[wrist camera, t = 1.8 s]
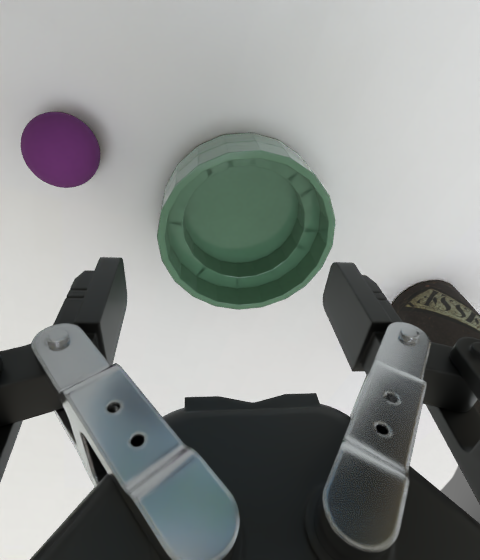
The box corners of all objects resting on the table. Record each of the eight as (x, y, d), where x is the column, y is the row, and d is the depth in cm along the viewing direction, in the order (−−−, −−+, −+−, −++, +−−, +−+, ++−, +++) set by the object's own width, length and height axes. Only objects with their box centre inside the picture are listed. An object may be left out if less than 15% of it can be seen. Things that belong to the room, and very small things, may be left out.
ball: (28, 152, 31) (-2, 174, 26) (48, 90, 28) (20, 103, 24) (92, 185, 33) (76, 211, 28) (116, 130, 30) (102, 149, 26)
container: (467, 301, 46) (615, 450, 30) (408, 340, 49) (511, 495, 33) (436, 264, 42) (586, 414, 26) (373, 310, 45) (471, 469, 29)
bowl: (137, 236, 36) (128, 268, 31) (214, 94, 30) (218, 108, 25) (259, 294, 42) (267, 329, 37) (347, 187, 35) (371, 212, 31)
